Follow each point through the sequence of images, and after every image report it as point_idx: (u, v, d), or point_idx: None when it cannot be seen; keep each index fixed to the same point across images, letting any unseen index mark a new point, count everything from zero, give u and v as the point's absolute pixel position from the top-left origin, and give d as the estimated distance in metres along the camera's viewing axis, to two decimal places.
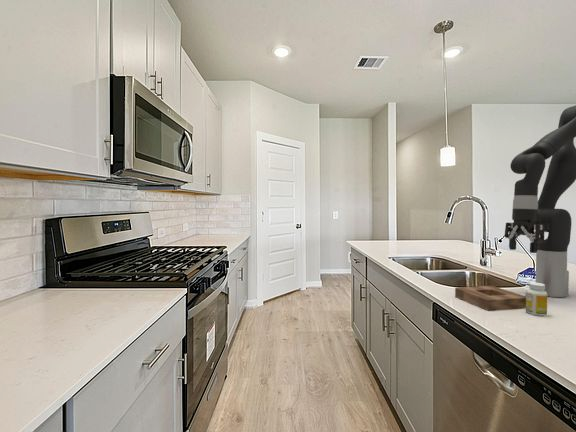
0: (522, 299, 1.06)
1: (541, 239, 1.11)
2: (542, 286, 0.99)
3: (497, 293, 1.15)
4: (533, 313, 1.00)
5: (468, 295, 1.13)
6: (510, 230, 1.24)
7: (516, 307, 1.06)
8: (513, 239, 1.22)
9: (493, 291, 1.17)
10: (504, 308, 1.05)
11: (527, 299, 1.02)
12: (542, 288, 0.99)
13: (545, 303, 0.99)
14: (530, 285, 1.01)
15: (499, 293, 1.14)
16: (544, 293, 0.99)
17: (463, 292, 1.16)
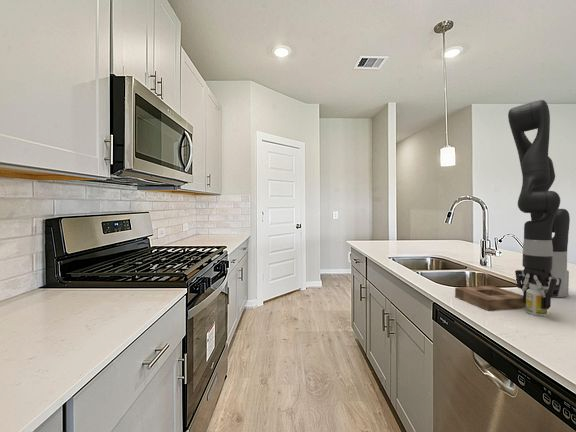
0: (522, 299, 1.06)
1: (554, 295, 0.96)
2: None
3: (497, 293, 1.15)
4: (533, 313, 1.00)
5: (468, 295, 1.13)
6: (522, 279, 1.06)
7: (516, 307, 1.06)
8: None
9: (493, 291, 1.17)
10: (504, 308, 1.05)
11: (527, 299, 1.02)
12: None
13: None
14: (530, 285, 1.01)
15: (499, 293, 1.14)
16: None
17: (463, 292, 1.16)
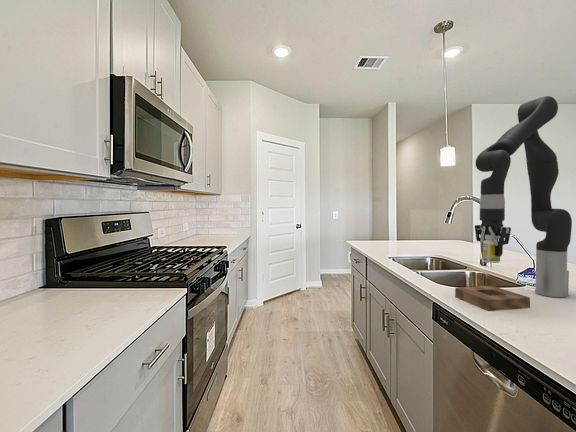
0: (522, 299, 1.06)
1: (505, 242, 1.07)
2: None
3: (497, 293, 1.15)
4: (488, 261, 1.11)
5: (468, 295, 1.13)
6: (480, 232, 1.18)
7: (516, 307, 1.06)
8: None
9: (493, 291, 1.17)
10: (504, 308, 1.05)
11: (483, 249, 1.13)
12: None
13: None
14: (485, 236, 1.13)
15: (499, 293, 1.14)
16: None
17: (463, 292, 1.16)
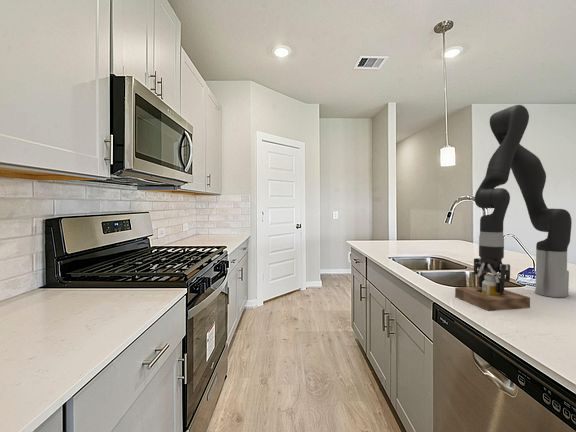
0: (522, 299, 1.06)
1: (506, 280, 1.07)
2: None
3: None
4: None
5: (468, 295, 1.13)
6: (479, 266, 1.19)
7: (516, 307, 1.06)
8: (482, 276, 1.17)
9: None
10: (504, 308, 1.05)
11: (482, 289, 1.14)
12: (495, 279, 1.11)
13: (497, 293, 1.11)
14: (485, 277, 1.13)
15: None
16: None
17: (463, 292, 1.16)
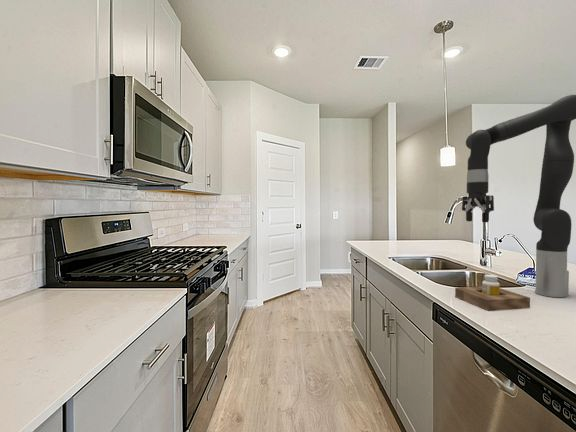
0: (522, 299, 1.06)
1: (491, 209, 1.20)
2: (495, 277, 1.11)
3: None
4: None
5: (468, 295, 1.13)
6: (466, 203, 1.33)
7: (516, 307, 1.06)
8: (469, 211, 1.31)
9: None
10: (504, 308, 1.05)
11: (482, 289, 1.14)
12: (495, 279, 1.11)
13: (497, 293, 1.11)
14: (485, 277, 1.13)
15: None
16: (496, 284, 1.11)
17: (463, 292, 1.16)
